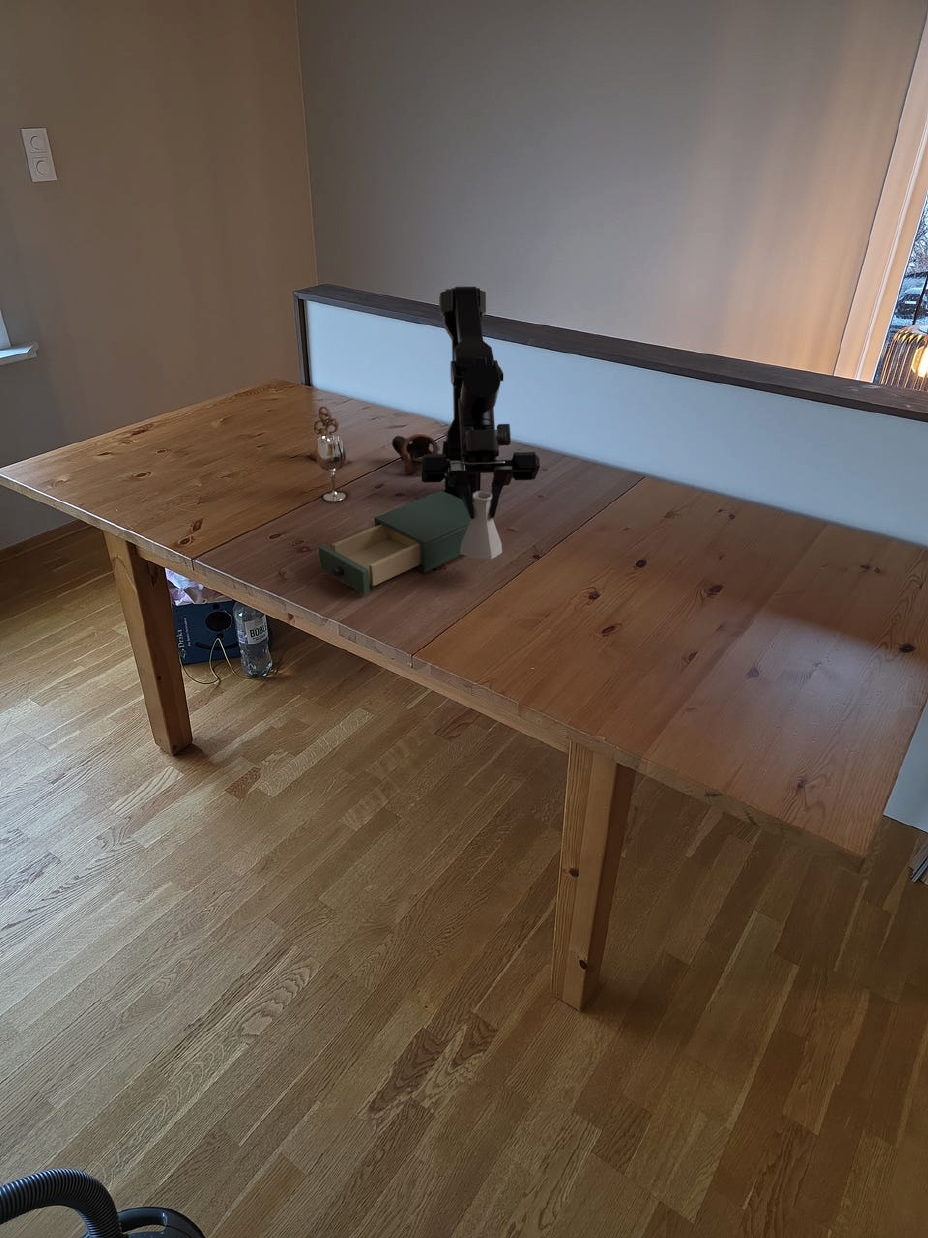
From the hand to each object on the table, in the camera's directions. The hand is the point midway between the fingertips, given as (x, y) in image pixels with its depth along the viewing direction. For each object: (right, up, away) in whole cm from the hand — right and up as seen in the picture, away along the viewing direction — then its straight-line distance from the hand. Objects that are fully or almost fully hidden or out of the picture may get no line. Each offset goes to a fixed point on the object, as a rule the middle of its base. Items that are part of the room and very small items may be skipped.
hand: (482, 518), depth 127 cm
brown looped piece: (-33, +19, +51) cm, 63 cm away
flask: (0, -5, +5) cm, 7 cm away
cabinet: (-9, -2, +18) cm, 20 cm away
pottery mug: (-13, +17, +48) cm, 53 cm away
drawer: (-18, -7, +9) cm, 22 cm away
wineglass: (-29, +9, +35) cm, 46 cm away
